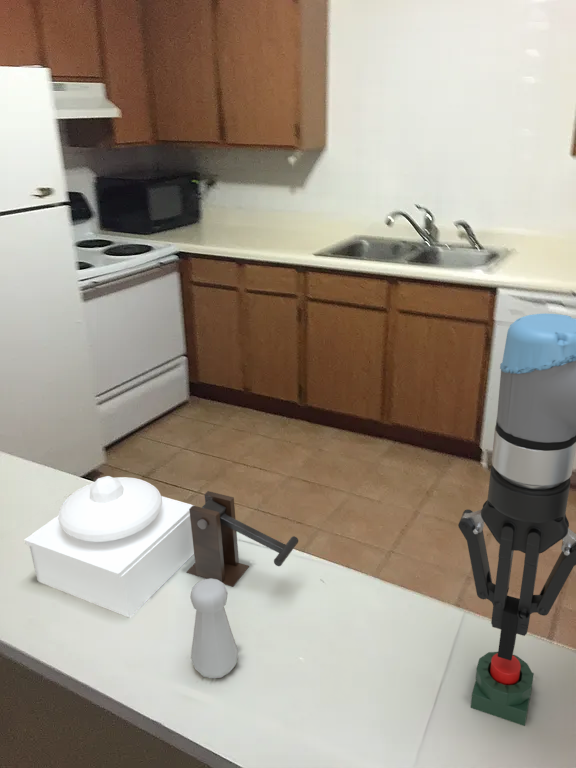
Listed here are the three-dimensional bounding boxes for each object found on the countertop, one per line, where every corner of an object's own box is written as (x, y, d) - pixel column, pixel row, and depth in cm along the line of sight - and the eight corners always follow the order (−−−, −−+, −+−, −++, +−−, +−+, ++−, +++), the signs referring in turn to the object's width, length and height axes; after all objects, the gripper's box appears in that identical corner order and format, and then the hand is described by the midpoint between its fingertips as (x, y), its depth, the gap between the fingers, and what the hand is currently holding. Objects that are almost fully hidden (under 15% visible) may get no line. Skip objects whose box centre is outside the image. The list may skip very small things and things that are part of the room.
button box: (532, 686, 80) (536, 661, 78) (525, 726, 75) (529, 700, 73) (480, 669, 82) (482, 645, 81) (469, 708, 77) (472, 682, 76)
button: (521, 668, 78) (522, 657, 77) (516, 689, 75) (518, 677, 74) (492, 660, 79) (494, 648, 78) (487, 680, 76) (489, 668, 76)
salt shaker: (185, 682, 82) (174, 598, 77) (204, 647, 87) (195, 567, 82) (229, 692, 80) (221, 607, 75) (246, 656, 85) (239, 575, 80)
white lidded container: (202, 551, 105) (193, 463, 99) (128, 626, 91) (111, 529, 85) (116, 523, 113) (103, 440, 107) (35, 589, 99) (13, 497, 92)
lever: (296, 547, 95) (300, 535, 94) (279, 571, 90) (283, 558, 89) (213, 505, 99) (215, 493, 98) (193, 526, 94) (195, 513, 93)
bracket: (251, 570, 101) (246, 498, 96) (231, 595, 96) (225, 520, 91) (206, 556, 104) (199, 486, 99) (185, 580, 99) (176, 507, 94)
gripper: (604, 465, 67) (570, 644, 76) (471, 441, 72) (456, 611, 81) (600, 504, 60) (564, 694, 70) (455, 475, 66) (441, 655, 75)
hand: (506, 649), depth 76 cm, fingers closed
